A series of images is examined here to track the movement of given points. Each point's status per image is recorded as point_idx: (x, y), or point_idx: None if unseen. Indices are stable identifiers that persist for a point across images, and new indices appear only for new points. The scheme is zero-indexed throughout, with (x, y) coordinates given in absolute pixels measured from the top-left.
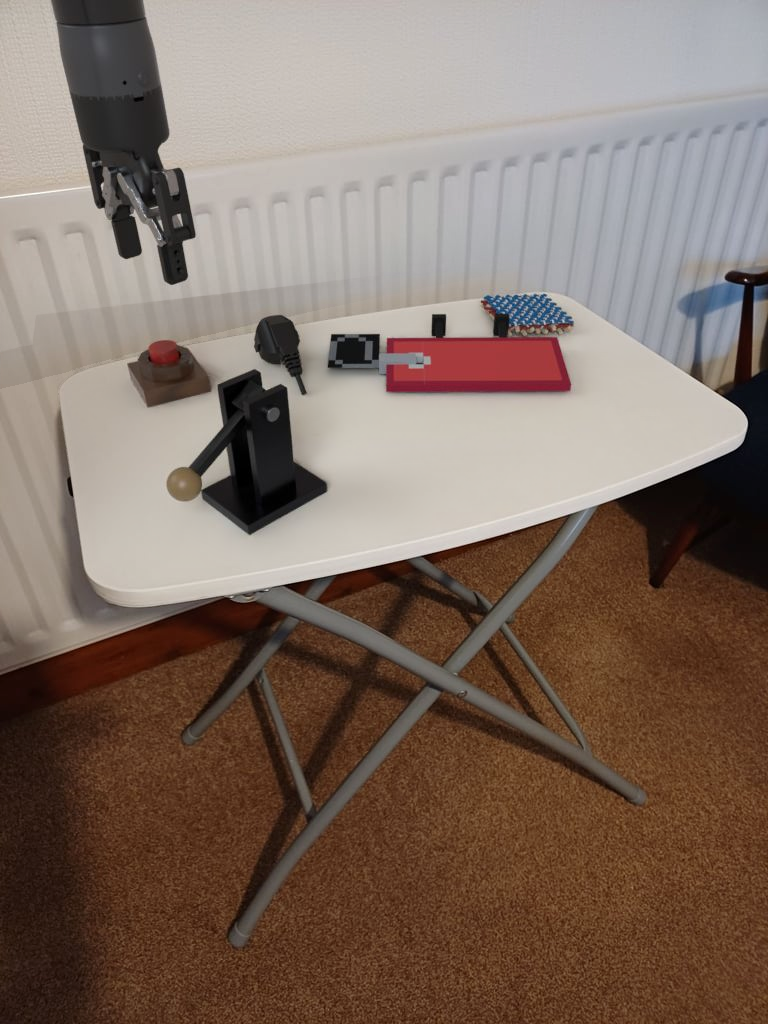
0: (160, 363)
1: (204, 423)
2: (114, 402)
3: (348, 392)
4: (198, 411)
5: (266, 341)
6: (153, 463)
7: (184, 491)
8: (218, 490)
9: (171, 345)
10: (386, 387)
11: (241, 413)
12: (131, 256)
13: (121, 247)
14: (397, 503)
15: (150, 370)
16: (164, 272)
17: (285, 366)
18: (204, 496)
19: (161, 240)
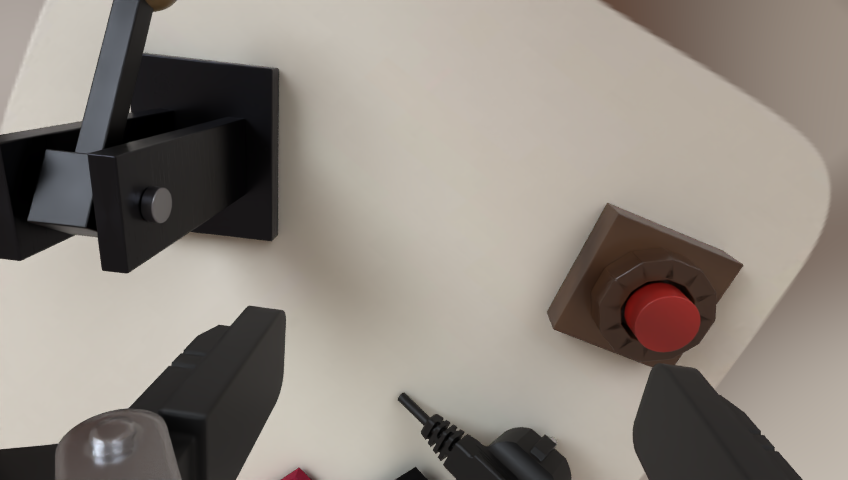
0: (643, 288)
1: (471, 233)
2: (682, 173)
3: (352, 437)
4: (513, 253)
5: (520, 460)
6: (441, 83)
7: None
8: (247, 89)
9: (652, 337)
10: (295, 473)
11: (84, 152)
12: (646, 395)
13: (679, 396)
14: (60, 264)
15: (643, 259)
16: (244, 328)
17: (454, 427)
18: (265, 67)
19: (77, 438)
